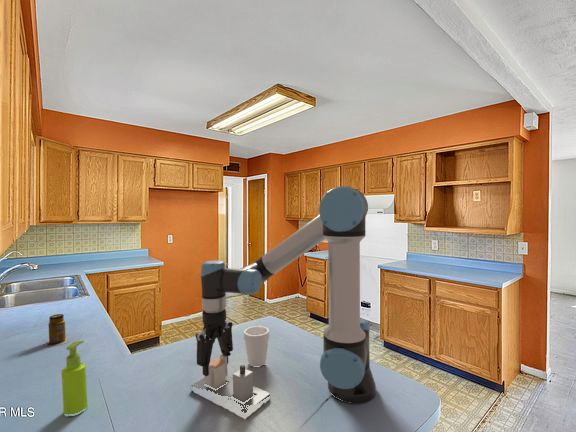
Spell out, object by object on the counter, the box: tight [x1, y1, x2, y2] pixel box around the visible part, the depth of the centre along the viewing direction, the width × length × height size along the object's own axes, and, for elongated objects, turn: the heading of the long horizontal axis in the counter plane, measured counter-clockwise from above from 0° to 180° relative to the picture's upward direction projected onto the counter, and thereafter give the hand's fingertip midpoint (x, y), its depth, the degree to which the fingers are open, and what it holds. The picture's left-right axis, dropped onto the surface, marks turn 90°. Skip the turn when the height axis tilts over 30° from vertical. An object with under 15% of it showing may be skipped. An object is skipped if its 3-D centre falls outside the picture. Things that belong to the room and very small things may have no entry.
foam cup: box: [243, 325, 270, 367], centre depth 118 cm, size 10×9×13 cm
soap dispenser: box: [61, 340, 88, 415], centre depth 94 cm, size 6×7×20 cm
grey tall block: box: [232, 364, 254, 402], centre depth 95 cm, size 4×4×11 cm
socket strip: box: [190, 375, 271, 413], centre depth 99 cm, size 24×11×2 cm, turn 54°
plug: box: [210, 357, 226, 389], centre depth 102 cm, size 4×4×9 cm
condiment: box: [46, 313, 69, 348], centre depth 142 cm, size 7×8×12 cm
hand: (216, 379), depth 102 cm, fingers open, 6 cm apart
